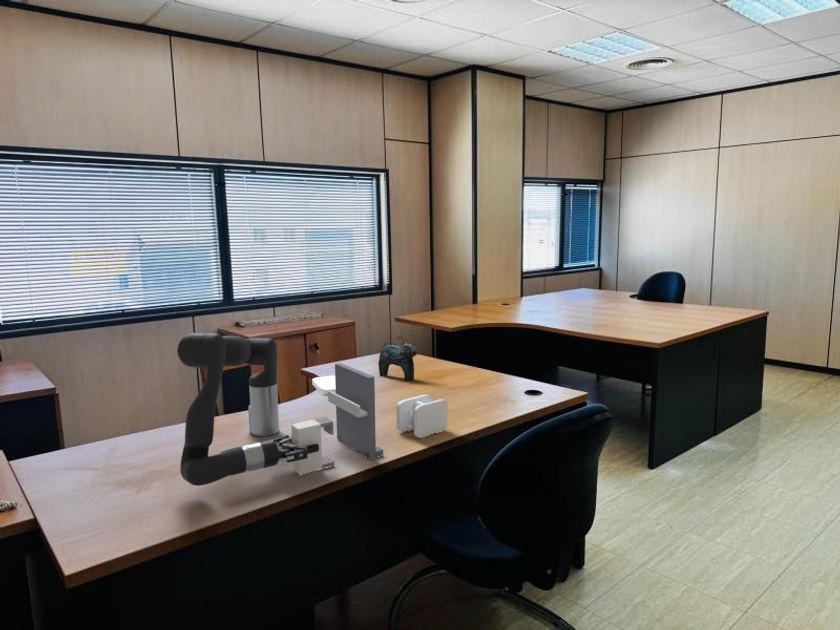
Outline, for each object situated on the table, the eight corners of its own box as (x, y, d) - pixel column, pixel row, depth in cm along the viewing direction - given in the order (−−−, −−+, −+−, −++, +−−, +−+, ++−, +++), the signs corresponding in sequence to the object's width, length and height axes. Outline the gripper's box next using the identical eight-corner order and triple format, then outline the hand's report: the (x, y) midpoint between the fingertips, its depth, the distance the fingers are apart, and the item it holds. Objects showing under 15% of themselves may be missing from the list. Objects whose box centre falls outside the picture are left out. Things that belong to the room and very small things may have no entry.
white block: (293, 469, 169) (291, 424, 167) (326, 460, 175) (325, 416, 173) (300, 475, 165) (298, 429, 163) (334, 466, 171) (333, 421, 169)
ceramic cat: (418, 379, 267) (418, 337, 264) (410, 382, 262) (410, 339, 258) (383, 373, 277) (383, 333, 274) (375, 376, 272) (375, 335, 269)
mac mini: (310, 383, 262) (310, 378, 261) (356, 378, 271) (356, 372, 270) (323, 396, 242) (323, 390, 242) (372, 390, 251) (372, 384, 251)
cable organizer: (415, 441, 190) (415, 408, 189) (395, 433, 198) (395, 400, 196) (448, 431, 200) (448, 398, 198) (427, 423, 208) (427, 392, 206)
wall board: (328, 440, 191) (325, 365, 187) (350, 435, 196) (348, 361, 192) (360, 462, 173) (359, 379, 169) (384, 456, 178) (382, 375, 174)
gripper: (267, 450, 153) (322, 437, 162) (248, 435, 164) (301, 423, 174) (268, 477, 154) (323, 462, 163) (250, 459, 166) (302, 447, 175)
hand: (312, 442), depth 168 cm, fingers open, 8 cm apart
